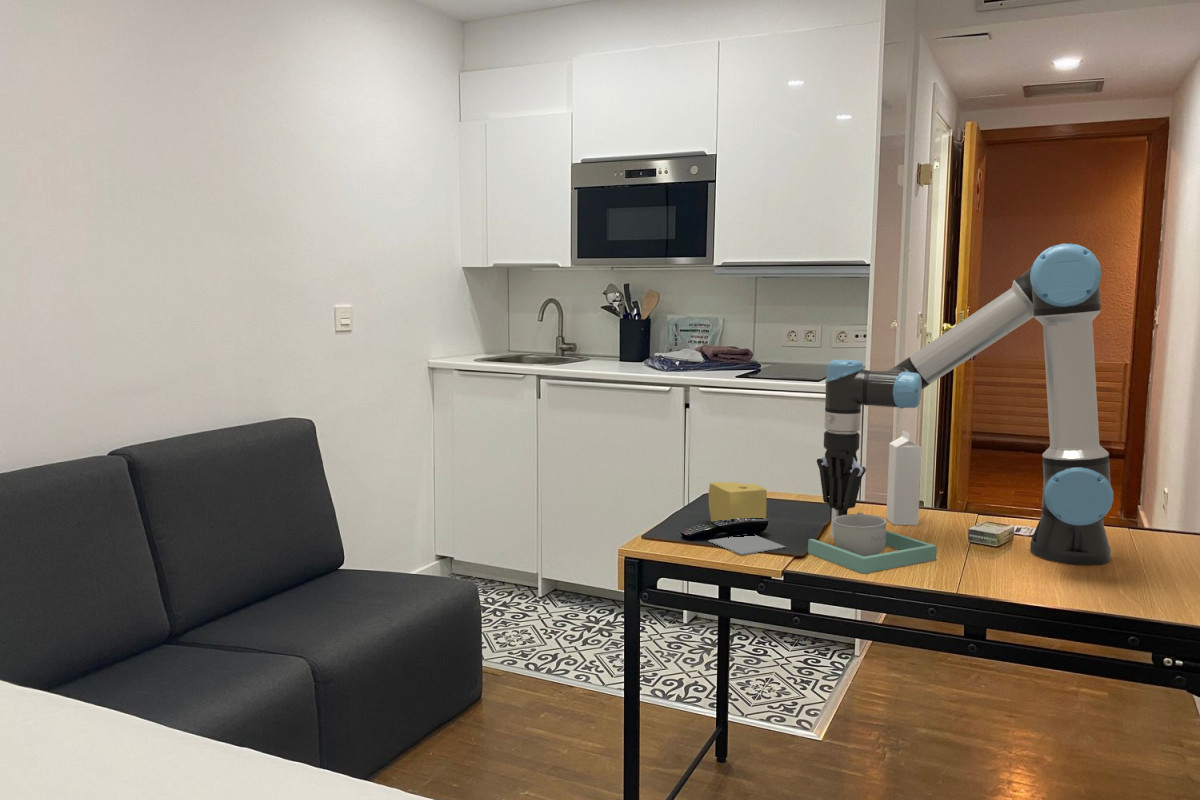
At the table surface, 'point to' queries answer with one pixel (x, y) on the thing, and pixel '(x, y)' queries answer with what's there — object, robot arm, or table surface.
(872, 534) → the teacup
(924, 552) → the cup bay
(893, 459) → the milk
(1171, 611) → the table surface
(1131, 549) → the table surface
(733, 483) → the cheese
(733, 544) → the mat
